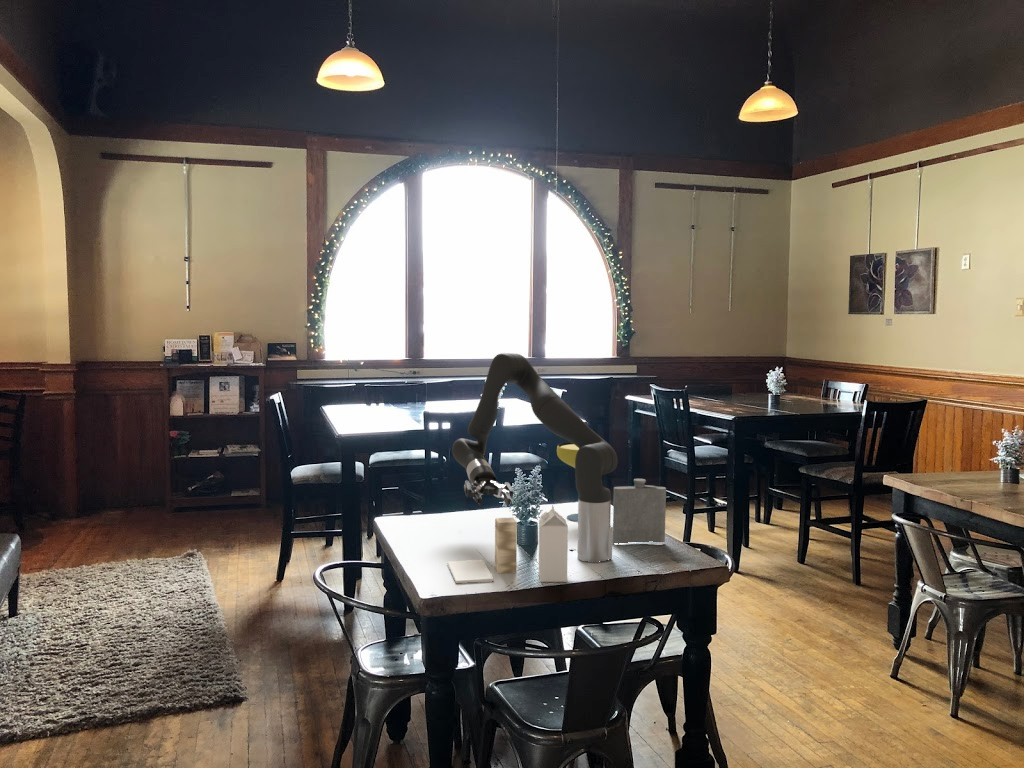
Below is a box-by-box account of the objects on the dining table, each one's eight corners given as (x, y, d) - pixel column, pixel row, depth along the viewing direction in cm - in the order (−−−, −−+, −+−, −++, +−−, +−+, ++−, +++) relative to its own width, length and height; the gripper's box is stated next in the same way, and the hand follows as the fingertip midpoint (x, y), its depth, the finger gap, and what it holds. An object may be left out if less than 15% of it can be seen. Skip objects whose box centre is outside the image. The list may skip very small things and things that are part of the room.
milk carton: (564, 573, 231) (565, 505, 229) (567, 582, 223) (568, 511, 222) (538, 574, 230) (539, 505, 228) (540, 582, 223) (541, 511, 221)
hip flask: (613, 545, 258) (614, 480, 256) (611, 542, 262) (612, 478, 260) (665, 545, 258) (667, 480, 257) (662, 541, 262) (664, 478, 261)
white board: (482, 562, 240) (482, 559, 240) (493, 581, 224) (493, 578, 224) (447, 564, 238) (447, 561, 238) (455, 583, 222) (455, 580, 221)
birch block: (512, 566, 236) (513, 517, 235) (516, 572, 231) (516, 521, 230) (494, 567, 235) (495, 518, 234) (498, 573, 230) (498, 522, 229)
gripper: (460, 463, 256) (473, 490, 242) (505, 465, 261) (520, 491, 247) (456, 485, 259) (469, 513, 245) (500, 487, 263) (515, 514, 249)
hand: (494, 502), depth 246 cm, fingers open, 8 cm apart
